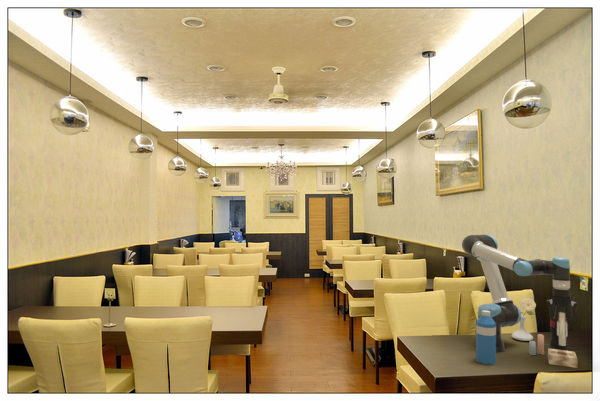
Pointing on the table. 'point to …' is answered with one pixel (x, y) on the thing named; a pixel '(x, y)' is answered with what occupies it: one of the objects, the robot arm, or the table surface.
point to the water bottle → (486, 339)
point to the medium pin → (541, 344)
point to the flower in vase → (522, 333)
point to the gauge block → (562, 358)
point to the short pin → (532, 347)
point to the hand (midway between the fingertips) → (562, 335)
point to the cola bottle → (555, 339)
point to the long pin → (562, 329)
